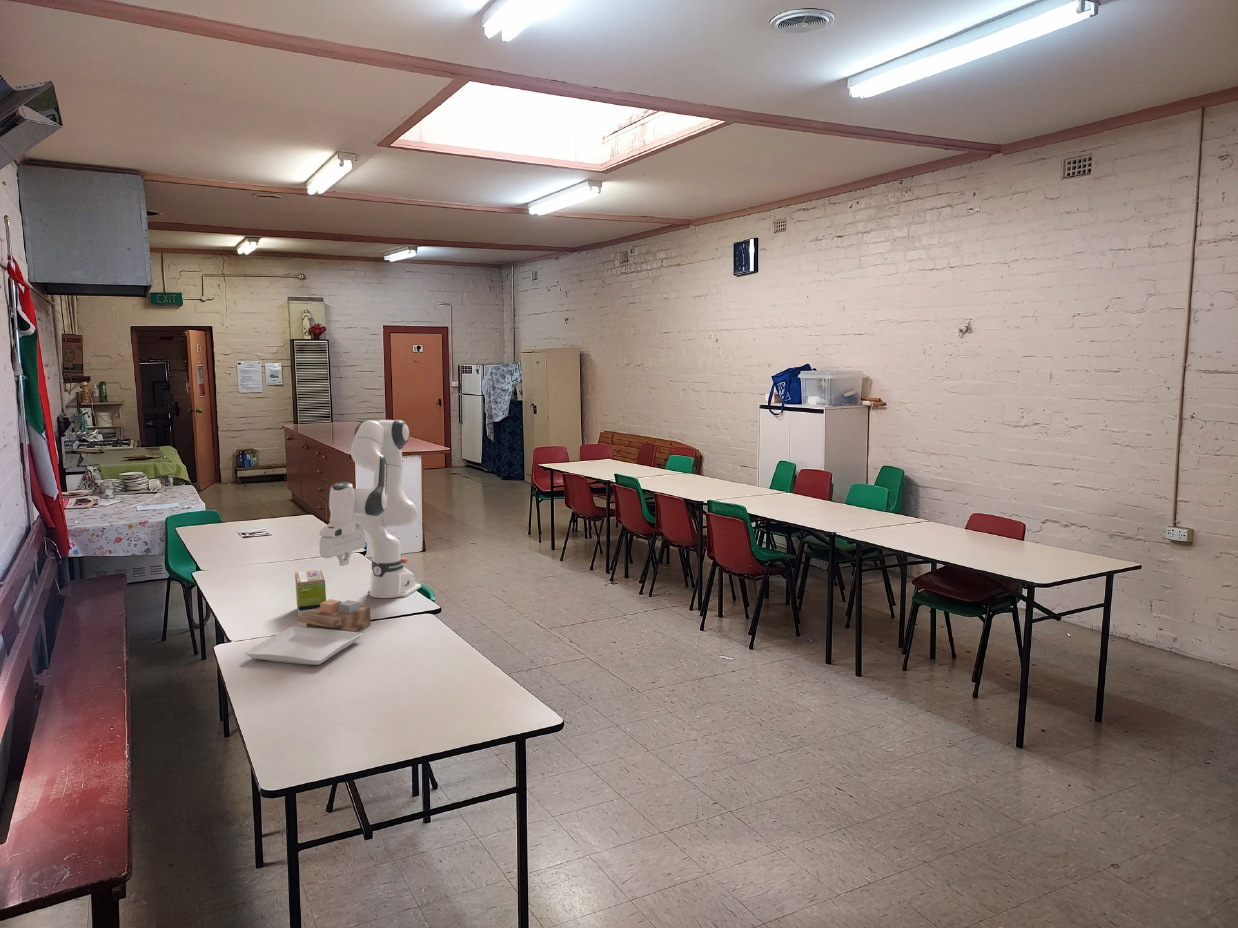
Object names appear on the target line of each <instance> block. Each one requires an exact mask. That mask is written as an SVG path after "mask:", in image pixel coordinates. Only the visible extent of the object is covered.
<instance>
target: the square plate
mask: <svg viewBox="0 0 1238 928" xmlns="http://www.w3.org/2000/svg"><path fill="white" fill-rule="evenodd" d="M362 636H363V633H362V632H358V631H357V632H348V631H340V630H332V629H322V628H307V627H306V626H305V627H304V626H292V627H289V628H287V629H284V631H281V632H280V633H277V634H275V635H274V636H272V637H270V638H268V639H266V640H265V641H263V642H260V644H257V645H255V646H254V647H252V648H251V649H249V650H247V651H245V652H244V654H245V655H246V656H248V657H249V658H251V659H255V660H264V661H267V662H268V661H269V662H275V663H277V662H279V663H289V664H297V665H312V666H313V665H321V664H322V663H324V662H325V661H327V660H329V659H330V658H331V657H333V656H334V655H335V656H336V654H338V653H340V652H341V651H342V650H344V649H346V648H348V647H349V646H350V645H353V644H354V643H355V642H357V641H358V640H359V639H360V638H361V637H362Z"/></svg>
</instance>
